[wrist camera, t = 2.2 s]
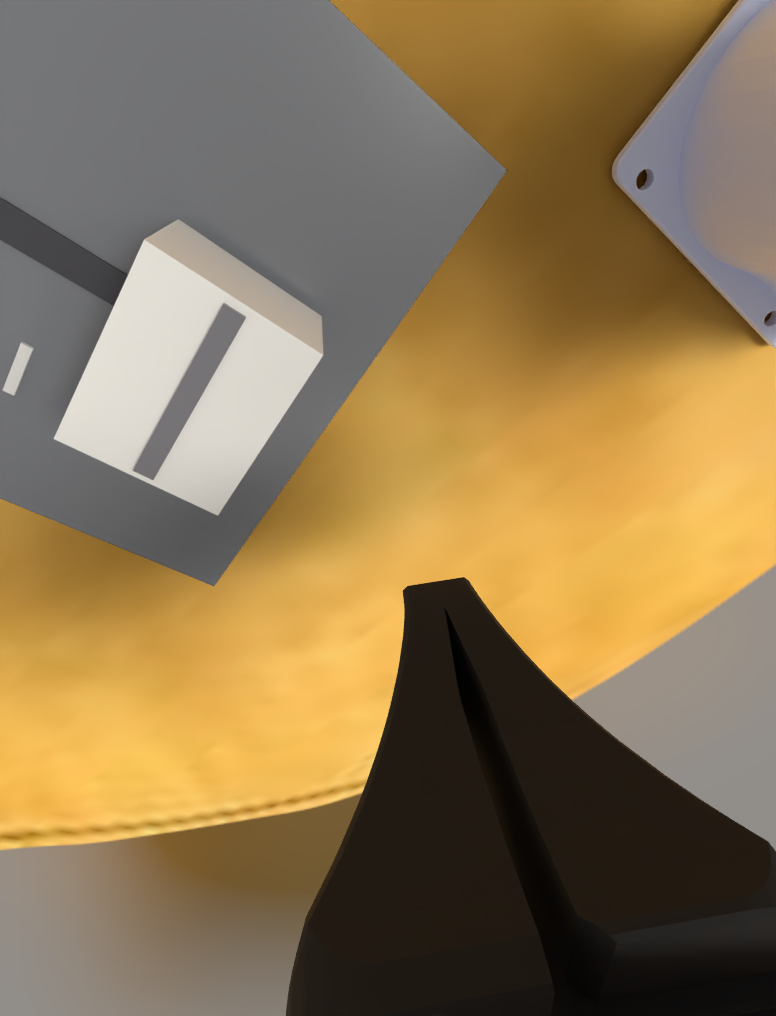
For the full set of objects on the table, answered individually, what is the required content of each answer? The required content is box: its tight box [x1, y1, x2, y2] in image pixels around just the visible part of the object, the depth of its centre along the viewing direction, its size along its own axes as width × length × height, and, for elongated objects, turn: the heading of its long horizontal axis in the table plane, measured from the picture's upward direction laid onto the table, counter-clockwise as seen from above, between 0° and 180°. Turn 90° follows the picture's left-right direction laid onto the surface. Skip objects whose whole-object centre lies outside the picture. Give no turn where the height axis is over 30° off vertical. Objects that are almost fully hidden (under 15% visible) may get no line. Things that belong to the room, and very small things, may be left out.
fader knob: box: [54, 219, 323, 515], centre depth 14 cm, size 4×5×4 cm
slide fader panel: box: [0, 0, 507, 586], centre depth 15 cm, size 16×16×3 cm
